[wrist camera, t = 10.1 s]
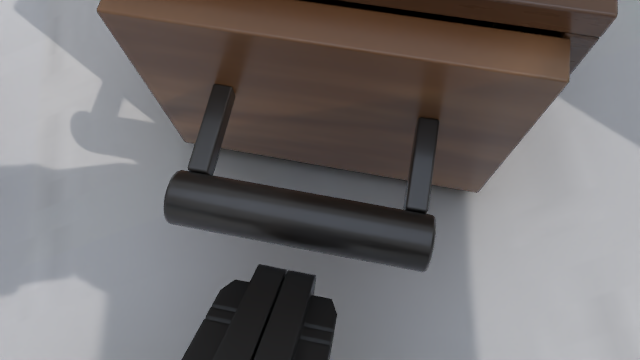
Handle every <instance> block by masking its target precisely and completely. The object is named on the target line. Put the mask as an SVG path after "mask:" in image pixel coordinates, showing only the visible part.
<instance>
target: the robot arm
mask: <svg viewBox="0 0 640 360" xmlns="http://www.w3.org/2000/svg"><path fill="white" fill-rule="evenodd" d="M315 281H316V275H311V274H305V273H300V272H295V271H290V270H288V272H287V270H286V269H281V268H276V267H271V266H266V265H261V264H259V265H258V267H257V269H256V271H255V273H254V275H253V277H252V279H251V281H250V282H245V281H240V280H234V281H232V282H231V283H230V284H228V285H227V286H226V287H224V288H223V289H221V290H220V292H219V294H218V295H217V297H216V299H215V301H214V303H213V304H212V307H211V308H210V310H209V311H208V313H207V315H206V318H205V319H204V320H203V322H202V324H201V326H200V328H199V329H198V331H197V333H196V335H195V337H194V338H193V340H192V342H191V344H190V345H189V347H188V349H187V351H186V353H185V354H184V356H183V358H182V360H329V359H330V353H331V347H332V341H333V335H334V329H335V324H336V318H337V313H336V310H335V307H334V304H333V302H332V299H328V298H323V297H319V296H314V288H315Z"/></svg>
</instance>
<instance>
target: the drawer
mask: <svg viewBox="0 0 640 360" xmlns="http://www.w3.org/2000/svg"><path fill="white" fill-rule="evenodd" d="M97 13H98V14H99V16H100V17H101V18H102V20H103V21H104V23H105V24H106V26H107V27H108V29H109V30H110V32H111V33H112V35H113V36H114V38H115V39H116V41H117V42H118V44H119V45H120V47H121V48H122V50H123V51H124V52H125V54H126V55H127V57H128V58H129V60H130V61H131V63H132V64H133V66H134V67H135V69H136V70H137V72H138V73H139V75H140V76H141V78H142V79H143V81H144V82H145V83H146V85H147V86H148V88H149V89H150V91H151V92H152V94H153V95H154V97H155V98H156V100H157V101H158V103H159V104H160V106H161V107H162V109H163V110H164V112H165V113H166V114H167V116H168V117H169V119H170V120H171V122H172V123H173V125H174V126H175V128H176V129H177V131H178V132H179V134H180V135H181V137H182V138H183V140H184V141H185V142H188V143H194V144H195V145H194V149H193V152H192V155H191V158H190V161H189V165H188V170H189V171H184V170H181V171H177V172H176V173H175V174H174V175H173V176H172V178H171V180H170V182H169V184H168V187H167V190H166V194H165V200H164V215H165V219H166V220H167V222H169V223H170V224H173V225H179V226H184V227H189V228H194V229H200V230H205V231H210V232H215V233H221V234H226V235H231V236H236V237H242V238H247V239H252V240H257V241H263V242H268V243H273V244H278V245H284V246H289V247H294V248H299V249H305V250H310V251H315V252H320V253H326V254H331V255H336V256H341V257H347V258H352V259H357V260H362V261H368V262H373V263H378V264H383V265H389V266H394V267H399V268H404V269H410V270H415V271H420V272H425V271H426V270H427V268H428V267H429V264H430V261H431V257H432V253H433V248H434V242H435V234H436V220H435V217H434V216H433V215H429V214H426V213H427V211H428V207H429V200H430V192H431V185H436V186H442V187H447V188H453V189H459V190H465V191H471V192H476V193H477V192H479V191H480V189H481V188H482V187H483V186H484V184H485V183H486V182H487V181H488V180H489V178H490V177H491V176H492V175H493V174H494V172H495V171H496V170H497V169H498V168H499V166H500V165H501V164H502V163H503V161H504V160H505V159H506V158H507V157H508V155H509V154H510V153H511V152H512V151H513V149H514V148H515V147H516V146H517V144H518V143H519V142H520V141H521V140H522V138H523V137H524V136H525V135H526V134H527V132H528V131H529V130H530V129H531V128H532V126H533V125H534V124H535V123H536V121H537V120H538V119H539V118H540V117H541V115H542V114H543V113H544V112H545V111H546V109H547V108H548V107H549V106H550V105H551V103H552V102H553V101H554V100H555V98H556V97H557V96H558V95H559V94H560V92H561V91H562V90H563V89H564V88H565V86H566V85H567V84H568V83H569V76H570V46H571V40H570V39H567V38H560V37H553V36H546V35H539V34H532V33H524V32H519V31H520V30H521V28H522V26H515V25H508V24H501V23H494V22H487V21H480V20H473V19H466V18H458V17H451V16H444V15H437V14H430V13H423V12H416V11H409V10H402V9H395V8H388V7H381V6H374V5H367V4H359V3H352V2H345V1H338V0H100V3H99V5H98V8H97ZM221 148H223V149H229V150H235V151H240V152H246V153H252V154H258V155H263V156H269V157H275V158H281V159H286V160H292V161H298V162H304V163H309V164H315V165H321V166H327V167H332V168H338V169H344V170H350V171H355V172H361V173H367V174H373V175H378V176H384V177H390V178H396V179H401V180H407V181H408V182H407V188H406V195H405V202H404V209H403V210H401V209H396V208H390V207H385V206H379V205H373V204H368V203H362V202H357V201H351V200H346V199H340V198H334V197H329V196H323V195H318V194H312V193H307V192H301V191H295V190H290V189H284V188H279V187H273V186H268V185H262V184H256V183H251V182H245V181H240V180H234V179H229V178H223V177H217V176H213V173H214V170H215V166H216V163H217V159H218V156H219V152H220V149H221Z"/></svg>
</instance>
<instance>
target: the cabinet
mask: <svg viewBox="0 0 640 360" xmlns="http://www.w3.org/2000/svg"><path fill="white" fill-rule="evenodd" d="M338 1H345V2H352V3H359V4H367V5H374V6H381V7H388V8H395V9H402V10H409V11H416V12H423V13H430V14H437V15H444V16H451V17H458V18H466V19H473V20H480V21H487V22H494V23H501V24H508V25H515V26H522V28H521V30H520V31H519V32H524V33H532V34H539V35H546V36H553V37H560V38H567V39H570V40H571V46H570V74H571V73H572V72H573V71H574V69H575V68H576V67H577V66H578V64H579V63H580V62H581V61H582V59H583V58H584V57H585V56H586V54H587V53H588V52H589V51H590V49H591V48H592V47H593V46H594V45H595V43H596V42H597V41H598V39H599V37H601V36H602V35H603V34H604V32H605V31H606V30H607V29H608V27H609V26H610V25H611V24H612V22H613V21H614V20H615V19H616V17H617V15H618V0H338Z"/></svg>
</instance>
